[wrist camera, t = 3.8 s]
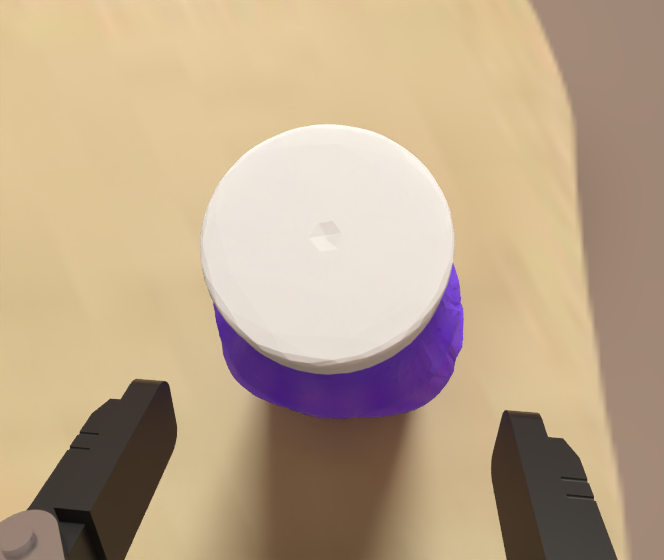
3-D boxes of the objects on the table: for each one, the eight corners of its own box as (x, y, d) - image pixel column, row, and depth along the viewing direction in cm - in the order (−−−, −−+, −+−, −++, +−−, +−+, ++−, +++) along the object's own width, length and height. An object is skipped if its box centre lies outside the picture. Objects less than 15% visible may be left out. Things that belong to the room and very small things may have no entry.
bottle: (427, 300, 25) (557, 83, 9) (420, 422, 24) (558, 448, 7) (278, 288, 26) (125, 61, 9) (264, 406, 25) (53, 396, 8)
